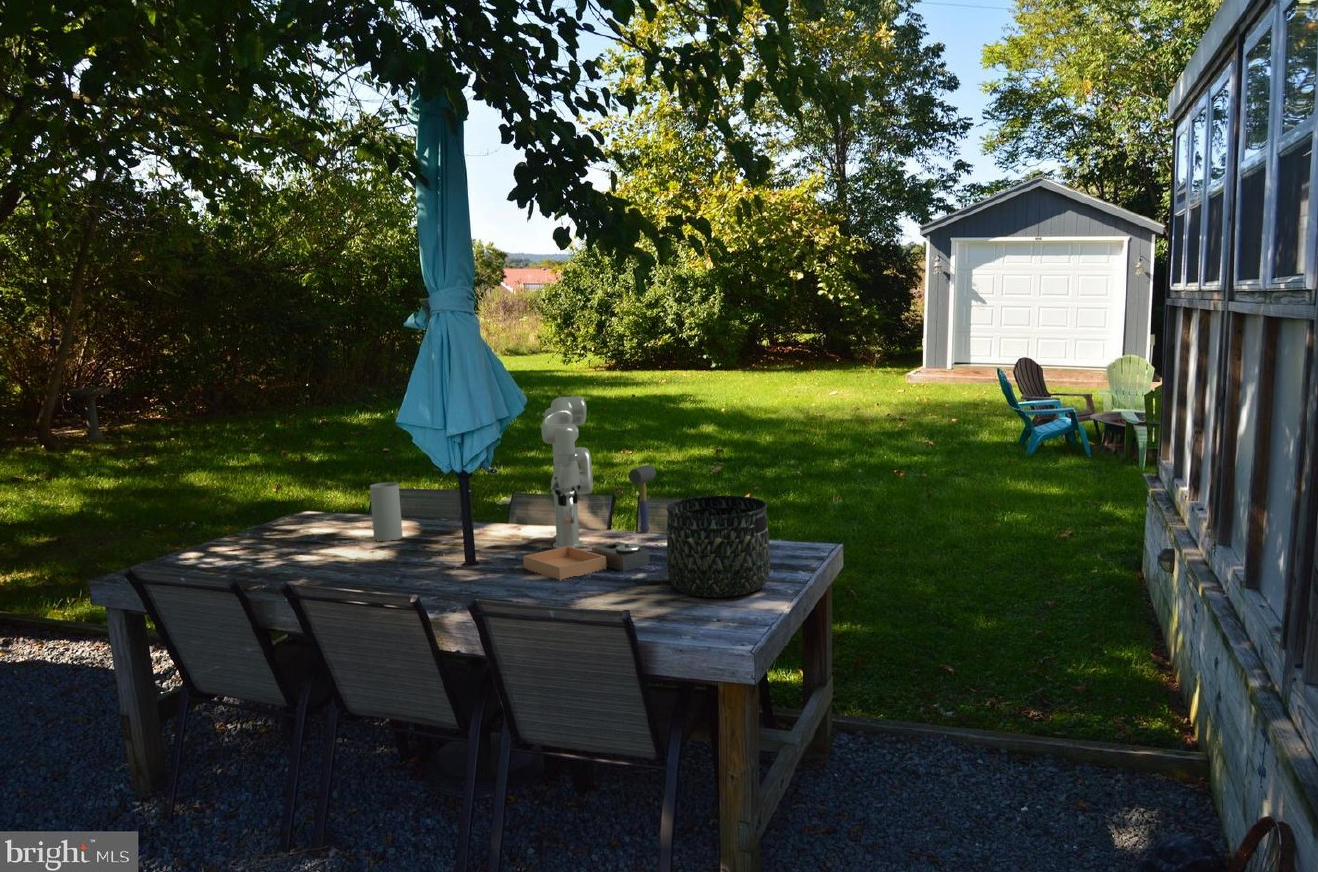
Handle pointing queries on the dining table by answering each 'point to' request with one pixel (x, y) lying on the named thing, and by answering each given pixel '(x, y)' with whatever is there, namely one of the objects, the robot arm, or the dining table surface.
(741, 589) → the basket
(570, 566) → the tray
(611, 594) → the dining table surface
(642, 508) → the rubber mallet
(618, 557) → the pulley bracket
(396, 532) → the cylinder vase
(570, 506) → the lock pin
